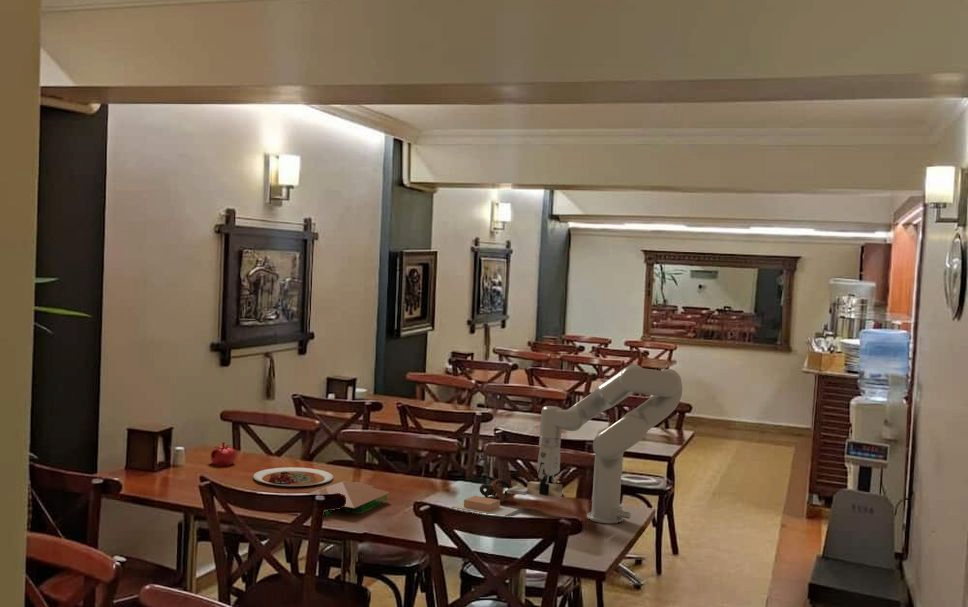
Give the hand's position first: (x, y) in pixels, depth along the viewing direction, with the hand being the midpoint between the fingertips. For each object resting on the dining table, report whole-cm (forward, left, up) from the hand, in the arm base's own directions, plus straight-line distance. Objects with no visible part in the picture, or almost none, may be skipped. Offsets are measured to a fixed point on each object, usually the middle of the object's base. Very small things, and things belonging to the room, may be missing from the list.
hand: (545, 493), depth 322 cm
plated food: (+98, +18, -8) cm, 99 cm away
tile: (+14, +12, -4) cm, 19 cm away
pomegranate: (+135, +17, -7) cm, 136 cm away
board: (+18, +12, -7) cm, 22 cm away
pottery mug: (+24, -4, -8) cm, 25 cm away
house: (+61, +36, -7) cm, 71 cm away
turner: (-1, 0, -1) cm, 1 cm away
